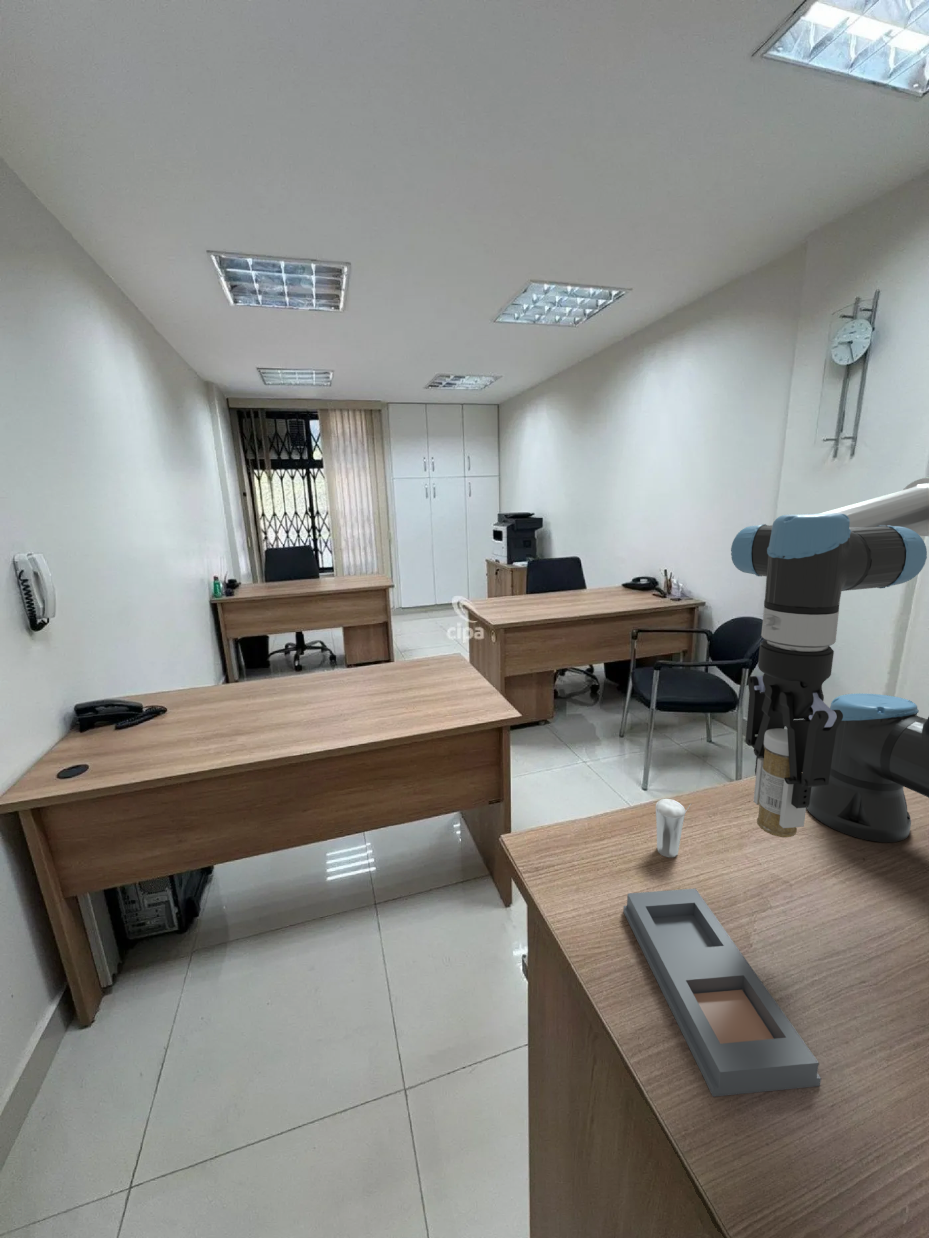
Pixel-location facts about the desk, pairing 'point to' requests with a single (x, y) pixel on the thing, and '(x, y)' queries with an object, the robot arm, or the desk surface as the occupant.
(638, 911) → the two-pocket grey tray
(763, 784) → the sprinkles bottle
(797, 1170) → the desk surface
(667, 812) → the milkshake
